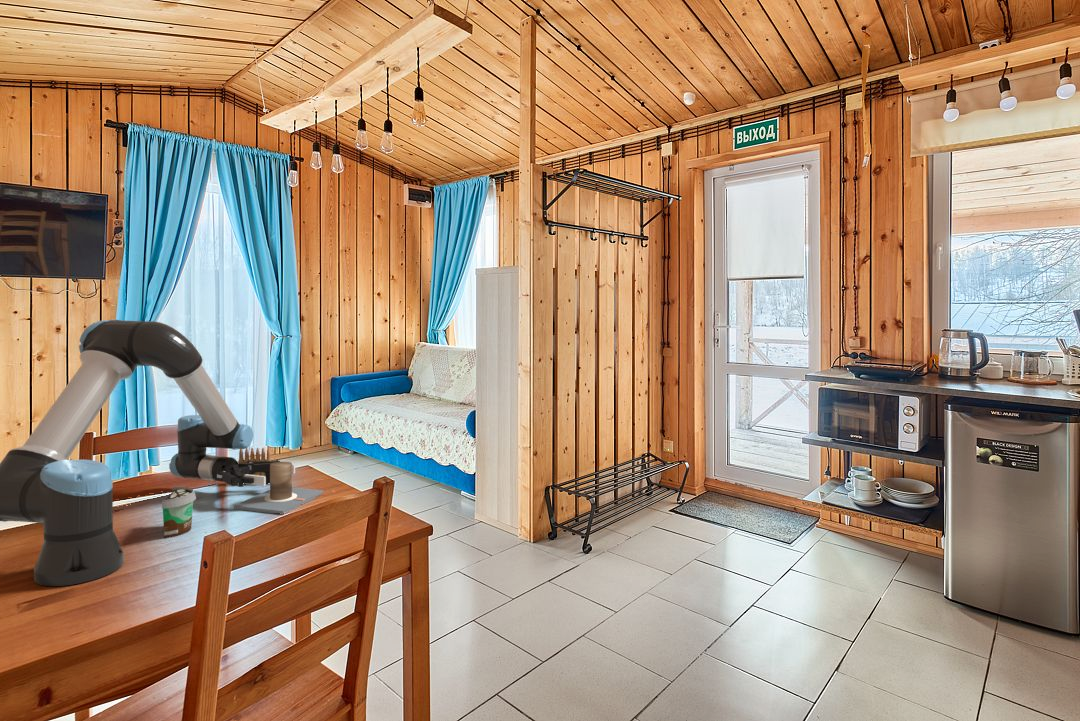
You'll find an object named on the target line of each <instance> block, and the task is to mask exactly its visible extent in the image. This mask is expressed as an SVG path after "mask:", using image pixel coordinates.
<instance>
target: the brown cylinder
mask: <svg viewBox="0 0 1080 721" xmlns="http://www.w3.org/2000/svg"><path fill="white" fill-rule="evenodd" d="M292 464H293V463H292V462H291V461H280V462H275V463H272V464H270V484H269V490H270V499H272V500H284V499H288V498H290V497H292V487H293V474H292Z"/></svg>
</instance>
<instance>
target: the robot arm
mask: <svg viewBox="0 0 1080 721" xmlns="http://www.w3.org/2000/svg"><path fill="white" fill-rule="evenodd" d="M79 342H80V344H79V345H78V350H79V352H80V353H79V359H80V362H81V365H80V367H79V368H77V369H78V370H77V371H76V372H75V374H74V375H73V376H72V377H71V379H70V380H69V382H68V383H67V384H66V386H65V387H64V388H63V390H62V392H61V393H60V394H59V396H58V397H57V399H56V400H55V401H54V403H53V404H52V405H51V406H50V408H49V409H48V411H47V412H46V413H45V415H44V416H43V418H42V419H41V421H39V423H38V424H37V426H36V427H35V428H34V430H33V431H32V433H31V434H30V435H29V437H28V438H27V439H26V441H25V442H24V444H23V445H22V446H19V447H15V448H11V449H10V450H9V451H8V452H7V453H6V455H5V456H4V457H3V459H2V460H1V461H0V522H4V523H5V522H22V523H24V522H25V523H37V524H39V523H40V524H42V525H43V526H42V530H43V544H42V546H41V549H40V552H39V555H38V559H37V561H36V564H35V566H34V569H33V580H34V581H33V582H35V583H36V584H38V585H40V586H45V587H63V586H71V585H76V584H77V585H78V584H83V583H86V582H90V581H94V580H97V579H100V578H103V577H106V576H109V575H110V574H112V573H114V572H116V571H117V570H119V569H121V567H122V566H123V565H124V561H125V560H124V559H125V558H124V557H125V556H124V555H125V554H124V551H123V548H122V546H121V544H120V543H119V542H120V541H119V540H118V537H117V536H116V534H115V532H114V525H113V524H114V521H113V520H114V513H113V512H114V511H113V508H114V507H113V506H114V505H113V504H114V502H113V501H114V500H113V499H114V498H113V494H114V492H113V489H114V488H113V486H114V483H113V482H114V481H113V479H112V472H111V468H110V467H109V466H108V465H107V464H105V463H104V462H101V461H97V460H92V459H81V458H80V459H69V458H70V456H71V455H72V453H73V452H74V451H75V449H76V448H77V446H78V444H79V443H80V442H81V440H82V439H83V437H84V435H85V434H86V432H87V431H88V429H89V428H90V426H91V425H92V423H93V422H94V420H95V419H96V417H97V416H98V414H99V413H100V411H101V410H102V408H103V407H104V405H105V404H106V402H107V401H108V399H109V397H110V396H111V394H112V393H113V392H114V391H115V388H116V387H117V386H118V384H119V383H120V381H121V380H127V379H129V378H131V376H132V375H133V373H134V372H135V370H136V368H137V367H154V368H157V369H159V370H161V371H162V372H163V374H164V375H165V377H167V378H170V379H173V380H174V382H175V383H176V384H177V385H178V387H179V389H180V390H181V391H182V393H183V394H184V396H185V397H186V398H187V400H188V401H189V403H190V404H191V406H192V407H193V409H194V410H195V411H196V413H197V414H192V415H183V416H181V417H180V418H178V420H177V431H176V434H177V453H175V454H174V455H173V456H172V457H171V459H170V463H169V464H168V466H169V471H170V473H171V474H172V475H173V476H175V477H179V478H184V479H195V480H204V481H209V482H211V483H213V482H222V483H224V484H225V483H226V484H228V485H229V486H233V487H236V486H238V487H239V488H243V487H244V485H249V486H251V485H252V486H261V487H265V486H266V485H267V484H266V476H258V475H251V474H254V473H255V472H267V471H270V464H272V463H275V462H281V461H280V460H278V459H275V460H271V461H247V463H239V461H237V459H236V458H234V457H232V456H231V457H229V456H222V455H212V454H211V455H210V454H207V449H208V448H209V449H210V448H211V449H212V448H213V449H226V450H240V449H242V450H244V449H245V450H246V448H249V447H250V446H251V444H252V442H253V440H254V430H253V427H252V426H251V425H248V424H244V423H243V424H242V423H239V422H238V420H237V419H236V417H235V415H234V414H233V412H232V410H231V408H229V406H228V404H227V403H226V401H225V399H224V398H223V396H222V395H221V393H220V392H219V390H218V388H217V386H216V385H215V383H214V382H213V380H212V379H211V377H210V375H209V374H208V372H207V371H206V369H205V368H204V366H203V360H204V359H203V357H202V355H201V354H200V352H199V351H198V349H197V348H196V346H195V345H194V344H193V343H192V341H190V340H189V339H188V338H187V337H186V336H185V335H183V334H182V333H181V332H180V331H179V330H177V329H175V328H173V327H172V326H170V325H169V324H166V323H163V322H161V321H155V320H154V321H152V320H151V321H149V320H147V321H144V320H120V319H107V320H98V321H96V322H93V323H92V324H90V325H88V326H87V327H86V328H85V329H84V330H83V332H82V334H81V335H80V337H79ZM250 470H251V472H250ZM293 474H296V464H293V463H292V475H293ZM243 476H244V477H243ZM243 483H244V484H243Z"/></svg>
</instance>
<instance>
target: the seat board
mask: <svg viewBox="0 0 1080 721" xmlns="http://www.w3.org/2000/svg"><path fill="white" fill-rule="evenodd" d="M323 492H324V493H325V490H323V489H313V488H303V487H294V486H292V497H290V498H288V499H284V500H272V499H270V489H268V490H266V491H264V492H262V493H259V494H257V495H254V496H253V497H250V498H248V499H246V500H243V501H241V502H239V503H236V504H234V505H233V510H237V511H238V510H239V511H249V512H257V513H266V514H273V513H281V514H280V515H285V514H287V513H288V512H287V511H289V510H291V509H293V510H295V509H297V508H299V507H301V506H302V505H301V504H303V505H304V503H305V504H306V502H307V503H308V502H311V501H312V500H314V499H316V498H317V497H316V496H318V495H320V494H322V493H323ZM322 495H323V494H322ZM320 496H321V495H320ZM315 497H316V498H315ZM318 497H319V496H318ZM300 505H301V506H300ZM298 506H299V507H298ZM294 508H295V509H294ZM291 511H292V510H291ZM284 512H286V513H284ZM289 512H290V511H289ZM282 513H284V514H282Z"/></svg>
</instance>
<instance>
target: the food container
mask: <svg viewBox="0 0 1080 721" xmlns="http://www.w3.org/2000/svg"><path fill="white" fill-rule="evenodd" d="M196 496H197V495H196V493H195V491H194V489H193V488H191V487H189V486H172V491H171V493H169V494H168V495H167V498H166V499H162V504H161V509H162V516H163V517H162V519H163V520H162V522H163V538H164V539H169V537H170V538H174V537H179V536H181V535H184V534H186V533H189V532H190V531H191V530H192V523H193V508H194V502H195V500H196V499H197V497H196Z"/></svg>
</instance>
